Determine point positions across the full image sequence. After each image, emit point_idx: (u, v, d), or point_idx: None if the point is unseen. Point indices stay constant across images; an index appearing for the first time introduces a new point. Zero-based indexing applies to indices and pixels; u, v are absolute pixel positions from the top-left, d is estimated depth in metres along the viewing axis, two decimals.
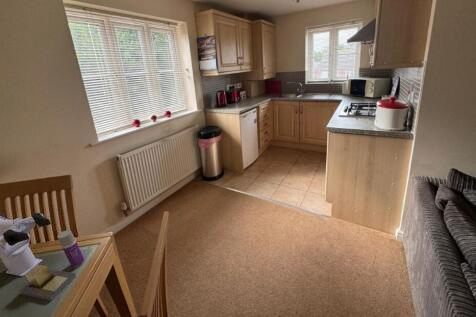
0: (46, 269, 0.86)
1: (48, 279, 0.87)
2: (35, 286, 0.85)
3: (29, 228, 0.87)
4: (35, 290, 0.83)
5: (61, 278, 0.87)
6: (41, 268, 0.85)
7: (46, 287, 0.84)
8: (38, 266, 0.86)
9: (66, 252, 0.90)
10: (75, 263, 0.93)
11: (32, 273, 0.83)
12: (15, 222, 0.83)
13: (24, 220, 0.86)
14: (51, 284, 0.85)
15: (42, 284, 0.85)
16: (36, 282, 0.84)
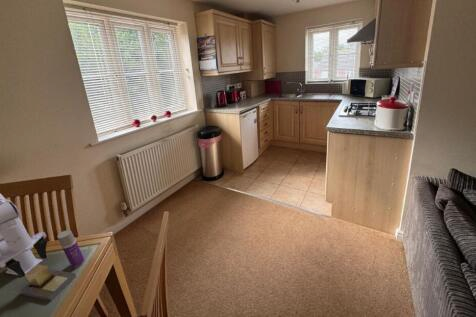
0: (46, 269, 0.86)
1: (48, 279, 0.87)
2: (35, 286, 0.85)
3: None
4: (35, 290, 0.83)
5: (61, 278, 0.87)
6: (41, 268, 0.85)
7: (46, 287, 0.84)
8: (38, 266, 0.86)
9: (66, 252, 0.90)
10: (75, 263, 0.93)
11: (32, 273, 0.84)
12: None
13: None
14: (51, 284, 0.85)
15: (42, 284, 0.85)
16: (36, 282, 0.84)
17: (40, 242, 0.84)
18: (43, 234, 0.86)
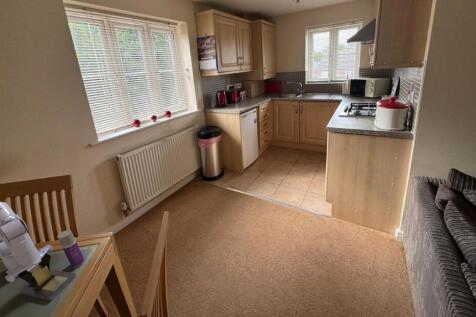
0: (46, 269, 0.86)
1: (48, 279, 0.87)
2: (35, 286, 0.85)
3: None
4: (35, 290, 0.83)
5: (61, 278, 0.87)
6: (41, 268, 0.85)
7: (46, 287, 0.84)
8: (38, 266, 0.86)
9: (66, 252, 0.90)
10: (75, 263, 0.93)
11: (32, 273, 0.83)
12: None
13: None
14: (51, 284, 0.85)
15: (42, 284, 0.85)
16: (36, 282, 0.83)
17: (47, 255, 0.87)
18: (50, 247, 0.88)
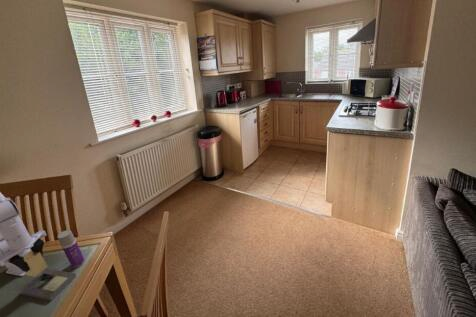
0: (39, 255, 0.83)
1: (41, 266, 0.84)
2: (28, 273, 0.82)
3: None
4: (35, 290, 0.83)
5: (61, 278, 0.87)
6: (34, 254, 0.82)
7: (46, 287, 0.84)
8: (31, 252, 0.83)
9: (66, 252, 0.90)
10: (75, 263, 0.93)
11: (24, 259, 0.81)
12: None
13: None
14: (51, 284, 0.85)
15: (35, 270, 0.82)
16: (29, 268, 0.81)
17: (40, 241, 0.84)
18: (43, 233, 0.86)
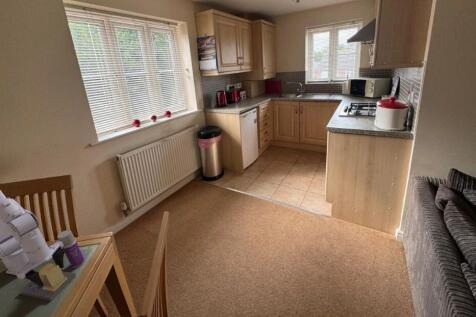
0: (58, 268, 0.84)
1: (59, 278, 0.84)
2: (46, 285, 0.83)
3: None
4: (35, 290, 0.83)
5: None
6: (53, 267, 0.83)
7: None
8: (49, 265, 0.84)
9: (66, 252, 0.90)
10: (75, 263, 0.93)
11: (43, 272, 0.81)
12: None
13: None
14: None
15: (54, 283, 0.82)
16: (48, 281, 0.81)
17: (58, 252, 0.84)
18: (60, 244, 0.86)
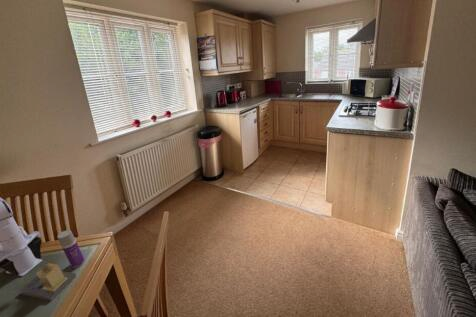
0: (58, 268, 0.84)
1: (59, 278, 0.84)
2: (46, 285, 0.83)
3: None
4: (35, 290, 0.83)
5: None
6: (53, 267, 0.83)
7: None
8: (49, 265, 0.84)
9: (66, 252, 0.90)
10: (75, 263, 0.93)
11: (43, 272, 0.81)
12: None
13: None
14: None
15: (54, 283, 0.82)
16: (48, 281, 0.81)
17: (34, 242, 0.83)
18: (37, 234, 0.85)
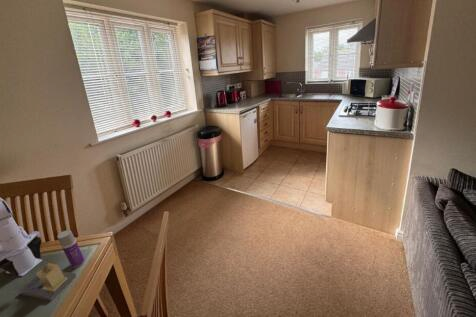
0: (58, 268, 0.84)
1: (59, 278, 0.84)
2: (46, 285, 0.83)
3: None
4: (35, 290, 0.83)
5: None
6: (53, 267, 0.83)
7: None
8: (49, 265, 0.84)
9: (66, 252, 0.90)
10: (75, 263, 0.93)
11: (43, 272, 0.81)
12: None
13: None
14: None
15: (54, 283, 0.82)
16: (48, 281, 0.81)
17: (34, 242, 0.83)
18: (37, 234, 0.85)
